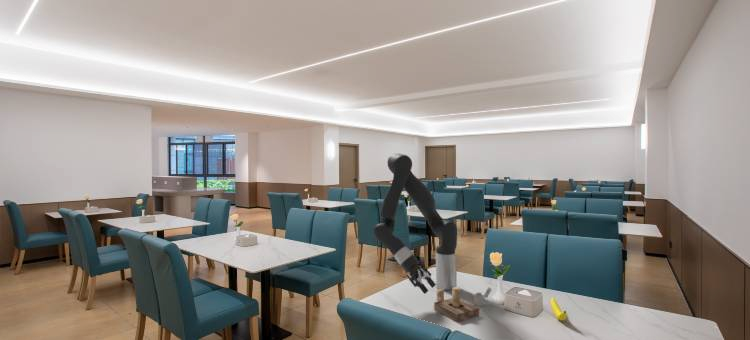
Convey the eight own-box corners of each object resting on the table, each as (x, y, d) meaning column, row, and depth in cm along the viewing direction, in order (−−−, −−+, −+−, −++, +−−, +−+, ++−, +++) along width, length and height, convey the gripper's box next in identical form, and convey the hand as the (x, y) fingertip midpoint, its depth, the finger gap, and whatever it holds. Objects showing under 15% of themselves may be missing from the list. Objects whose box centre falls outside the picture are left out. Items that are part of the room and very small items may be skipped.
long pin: (456, 310, 157) (456, 286, 157) (461, 313, 154) (461, 289, 154) (450, 311, 155) (450, 288, 155) (455, 314, 153) (455, 290, 152)
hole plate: (455, 304, 164) (455, 297, 164) (479, 315, 152) (479, 308, 151) (434, 309, 158) (434, 302, 158) (456, 322, 146) (456, 314, 146)
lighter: (474, 305, 162) (474, 287, 162) (474, 303, 164) (474, 285, 164) (491, 307, 160) (491, 288, 160) (491, 305, 162) (491, 287, 162)
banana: (556, 308, 158) (556, 293, 158) (569, 328, 140) (569, 311, 140) (548, 308, 159) (548, 293, 159) (560, 327, 140) (561, 311, 140)
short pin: (440, 298, 171) (440, 288, 170) (445, 300, 168) (445, 290, 168) (435, 299, 169) (435, 289, 169) (439, 302, 166) (439, 292, 166)
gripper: (404, 257, 158) (430, 289, 153) (418, 250, 170) (442, 279, 165) (393, 268, 161) (418, 299, 156) (407, 260, 173) (431, 289, 168)
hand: (430, 289), depth 160 cm, fingers open, 8 cm apart
